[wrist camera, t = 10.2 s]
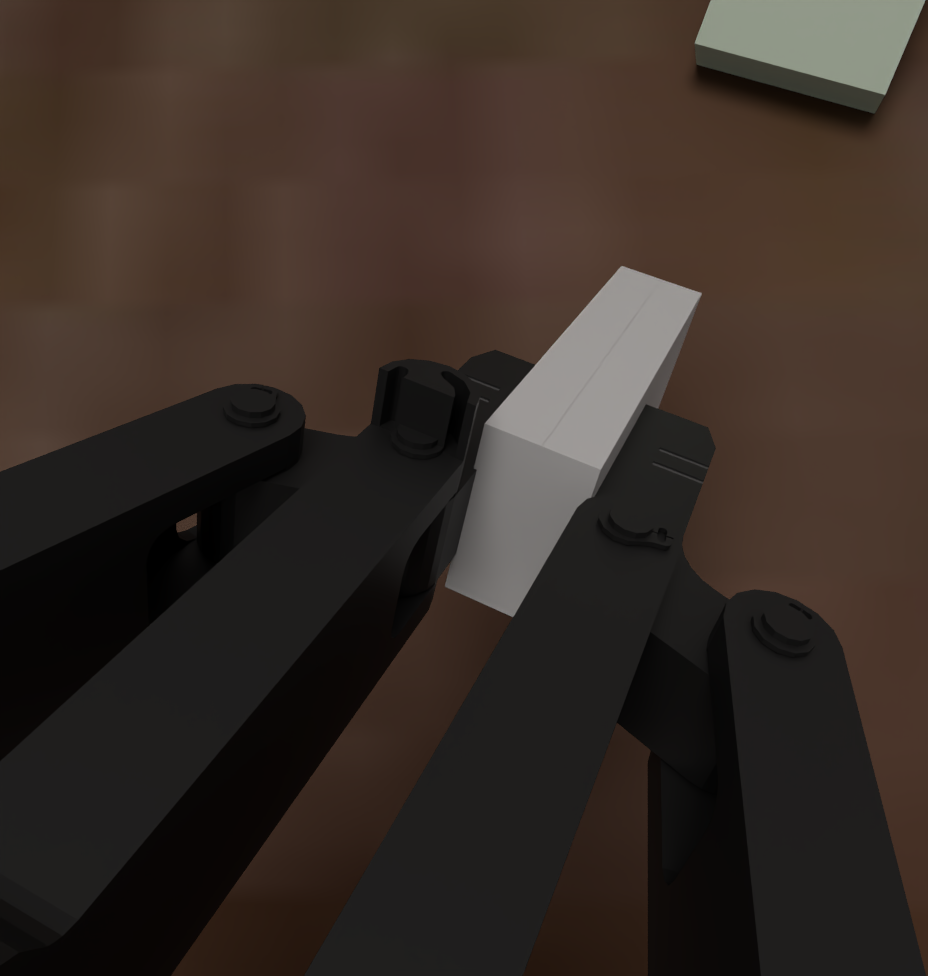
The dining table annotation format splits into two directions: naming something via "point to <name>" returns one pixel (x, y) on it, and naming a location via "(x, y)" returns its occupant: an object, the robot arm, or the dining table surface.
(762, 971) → the robot arm
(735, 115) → the dining table surface
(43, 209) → the dining table surface
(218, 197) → the dining table surface
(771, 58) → the domino
